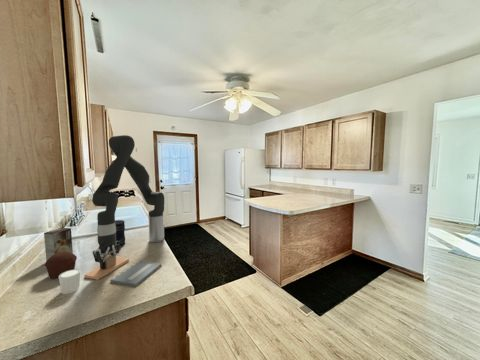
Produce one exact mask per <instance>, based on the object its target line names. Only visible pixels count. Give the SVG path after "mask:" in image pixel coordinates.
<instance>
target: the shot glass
mask: <svg viewBox="0 0 480 360" xmlns="http://www.w3.org/2000/svg"><path fill="white" fill-rule="evenodd" d="M58 282H59V287H60V291H61V294H62V295H68V294H71V293H75V292H76V291H78V290H79V289H80V284H81V283H80V282H81V270H80V269H76V268H75V269H73V270H69V271H66V272H64V273H62V274H60V275H59V279H58Z"/></svg>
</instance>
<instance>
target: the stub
mask: <svg viewBox="0 0 480 360" xmlns="http://www.w3.org/2000/svg"><path fill="white" fill-rule="evenodd" d="M102 259H103V257H102ZM129 261H130V259H129V258H126V257H121V256H120V257H118V256H117V255H116V256H113V255H110V254H108V255H107V257H106V259H105V263H106V268H105V269H101V268H100V266H98V267H96V268H95V269H93V270H91V271H89V272H87V273H85V274H84V276H83V277H84V278H85V279H91V280H97V281H99V280H101V278H104V277H105V276H106V275H108V274H110V273H111V272H113V271H115V270H117V269H118V268H120V267H122V266H124V264H126V263H128V262H129Z"/></svg>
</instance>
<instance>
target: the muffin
mask: <svg viewBox="0 0 480 360" xmlns="http://www.w3.org/2000/svg"><path fill="white" fill-rule="evenodd" d="M76 261H77V255H75V254H74V252H73V253H70V252H59V253H56V254H54V255H52V256H51V257H50V258H48V260H47V261H46V260H45V262H44V265H43V266H44V267H45V268H46V271H47V275H48V279H49V280H59V275H60V274H62V273H64V272H66V271H69V270H73V269H76V268H75V267H76Z"/></svg>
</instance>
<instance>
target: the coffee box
mask: <svg viewBox="0 0 480 360" xmlns="http://www.w3.org/2000/svg"><path fill="white" fill-rule="evenodd" d="M72 236H73V235H72V228H71V227H60V228H56V229H53V230H49V231H46V232H43V238H44V248H45V250H44V251H45V262H46V261H47V260H48V258H50V257H51V256H52V255H54V254H56V253H59V252H70V253H73V254H74V250H73V237H72Z"/></svg>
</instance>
